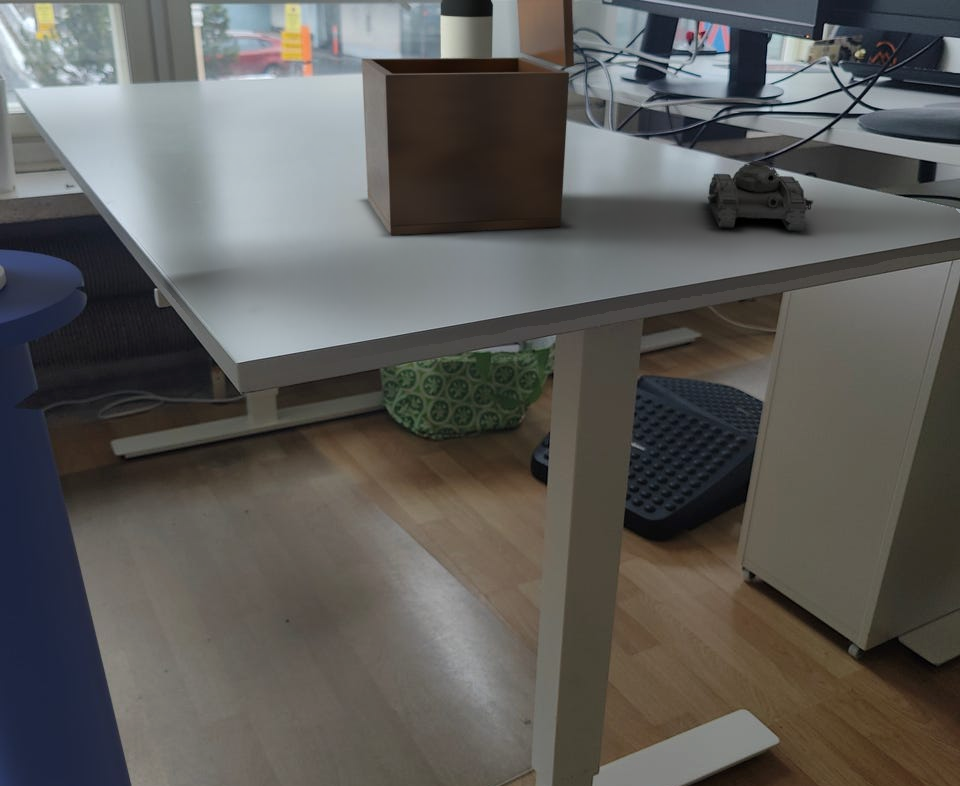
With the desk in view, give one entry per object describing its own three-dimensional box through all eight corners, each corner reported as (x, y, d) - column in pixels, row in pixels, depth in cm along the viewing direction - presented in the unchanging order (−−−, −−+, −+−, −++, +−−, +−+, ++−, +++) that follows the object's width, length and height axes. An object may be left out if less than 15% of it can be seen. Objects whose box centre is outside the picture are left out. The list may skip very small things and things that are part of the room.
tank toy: (815, 235, 85) (827, 175, 82) (707, 231, 86) (715, 171, 83) (794, 205, 95) (803, 151, 93) (697, 201, 96) (704, 147, 93)
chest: (390, 235, 83) (385, 74, 77) (367, 200, 94) (361, 58, 88) (560, 226, 86) (569, 72, 80) (519, 194, 98) (523, 57, 91)
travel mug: (442, 111, 148) (442, -21, 139) (439, 104, 155) (438, -22, 146) (493, 111, 149) (496, -20, 140) (488, 104, 156) (490, -21, 147)
